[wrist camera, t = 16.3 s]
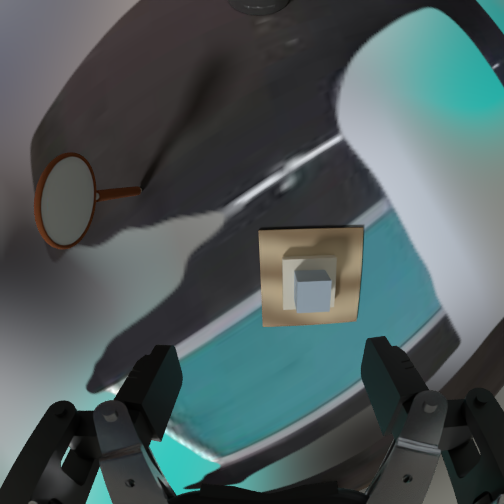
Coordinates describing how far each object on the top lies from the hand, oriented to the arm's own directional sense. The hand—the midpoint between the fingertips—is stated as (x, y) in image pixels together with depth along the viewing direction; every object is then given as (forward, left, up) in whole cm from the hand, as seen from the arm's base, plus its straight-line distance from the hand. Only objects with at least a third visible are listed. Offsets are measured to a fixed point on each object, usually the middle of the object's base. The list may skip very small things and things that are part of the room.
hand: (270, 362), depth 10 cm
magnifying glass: (-7, -17, -26) cm, 32 cm away
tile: (+6, +2, -25) cm, 25 cm away
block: (+6, +5, -24) cm, 25 cm away
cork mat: (+6, +6, -26) cm, 27 cm away
